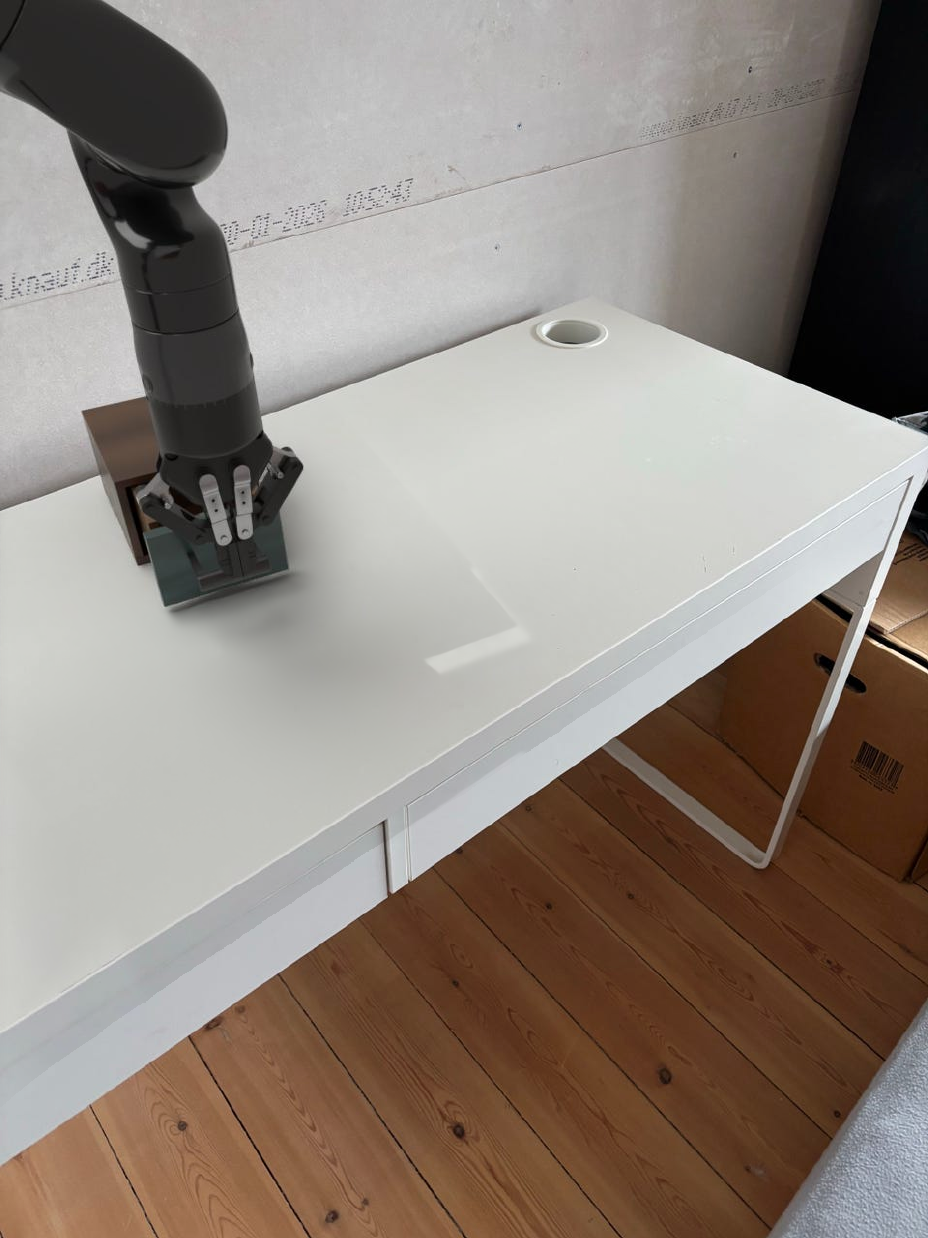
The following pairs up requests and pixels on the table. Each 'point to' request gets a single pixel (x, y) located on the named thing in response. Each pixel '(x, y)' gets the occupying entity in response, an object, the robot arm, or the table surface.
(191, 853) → the table surface
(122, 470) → the cabinet
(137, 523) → the drawer
